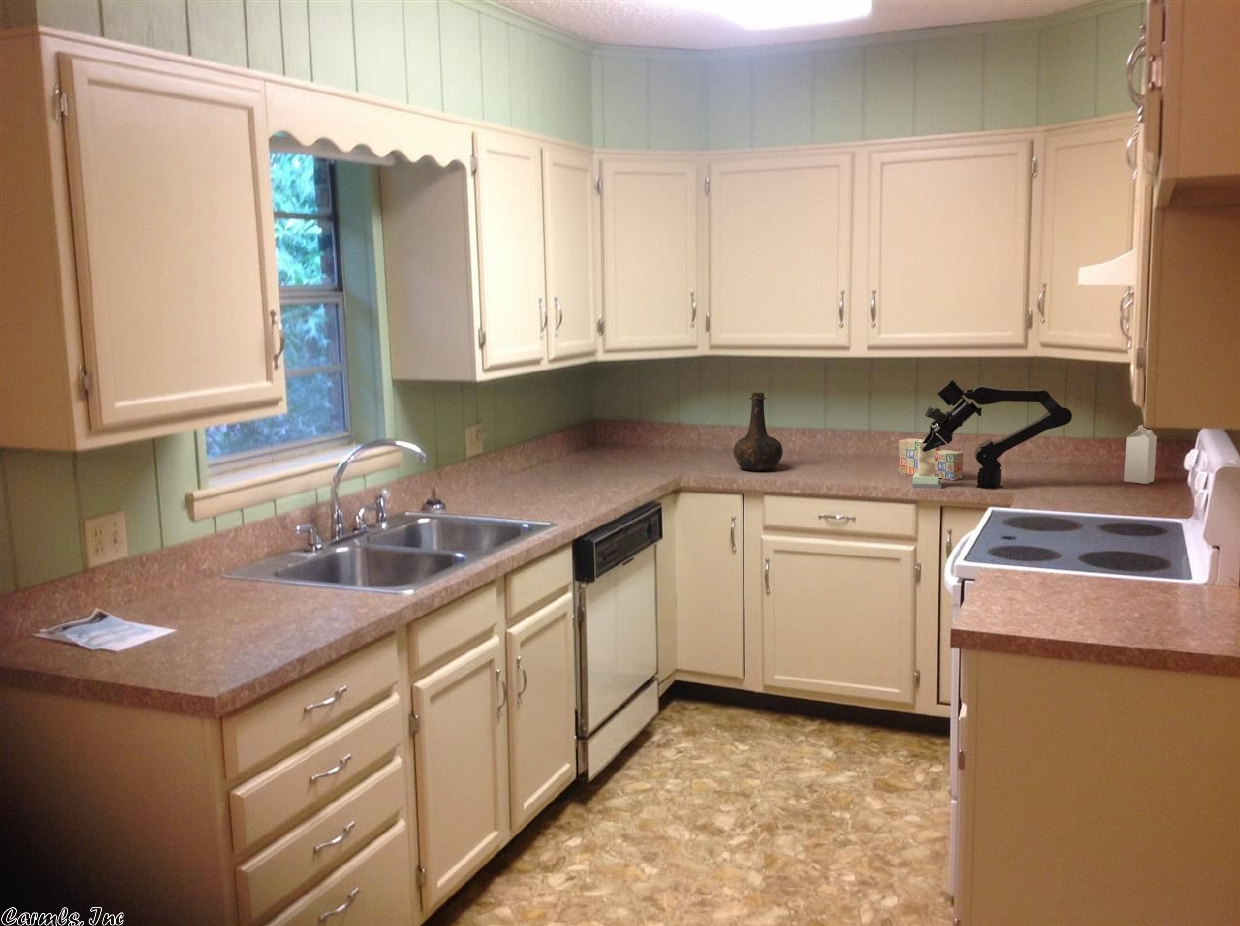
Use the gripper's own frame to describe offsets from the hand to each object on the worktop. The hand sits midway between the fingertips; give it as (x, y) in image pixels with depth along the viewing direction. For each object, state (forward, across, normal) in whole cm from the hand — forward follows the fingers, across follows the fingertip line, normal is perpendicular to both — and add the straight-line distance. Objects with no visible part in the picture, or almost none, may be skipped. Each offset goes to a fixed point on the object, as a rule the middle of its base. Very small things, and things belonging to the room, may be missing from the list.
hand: (922, 448), depth 355 cm
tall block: (+5, 0, +7) cm, 9 cm away
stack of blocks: (+6, -18, +12) cm, 23 cm away
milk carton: (-41, -16, +59) cm, 73 cm away
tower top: (+7, 0, +9) cm, 11 cm away
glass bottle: (+49, -25, -31) cm, 63 cm away
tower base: (+8, 0, +10) cm, 13 cm away
